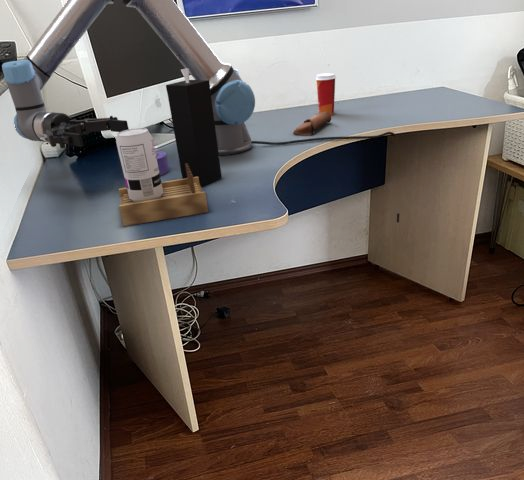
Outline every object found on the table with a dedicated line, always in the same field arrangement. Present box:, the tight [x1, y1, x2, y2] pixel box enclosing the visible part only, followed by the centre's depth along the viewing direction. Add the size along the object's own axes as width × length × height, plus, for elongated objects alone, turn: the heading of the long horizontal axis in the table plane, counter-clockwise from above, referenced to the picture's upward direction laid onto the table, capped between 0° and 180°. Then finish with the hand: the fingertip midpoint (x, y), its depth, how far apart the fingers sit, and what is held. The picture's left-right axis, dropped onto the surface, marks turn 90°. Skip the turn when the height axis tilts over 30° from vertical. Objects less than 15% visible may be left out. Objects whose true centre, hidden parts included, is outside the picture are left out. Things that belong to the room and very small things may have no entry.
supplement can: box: [115, 127, 163, 202], centre depth 122 cm, size 8×8×15 cm
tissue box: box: [165, 68, 223, 187], centre depth 138 cm, size 8×8×28 cm
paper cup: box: [315, 72, 337, 116], centre depth 200 cm, size 8×8×14 cm
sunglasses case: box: [292, 112, 332, 136], centre depth 185 cm, size 18×7×7 cm, turn 155°
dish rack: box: [118, 163, 209, 227], centre depth 126 cm, size 20×14×9 cm
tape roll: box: [155, 150, 170, 177], centre depth 156 cm, size 12×12×5 cm
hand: (104, 133), depth 126 cm, fingers open, 13 cm apart
